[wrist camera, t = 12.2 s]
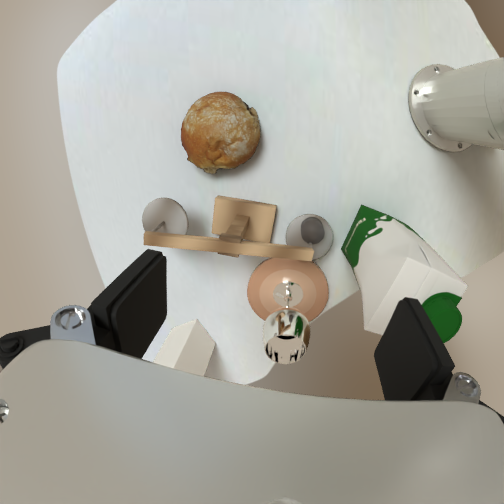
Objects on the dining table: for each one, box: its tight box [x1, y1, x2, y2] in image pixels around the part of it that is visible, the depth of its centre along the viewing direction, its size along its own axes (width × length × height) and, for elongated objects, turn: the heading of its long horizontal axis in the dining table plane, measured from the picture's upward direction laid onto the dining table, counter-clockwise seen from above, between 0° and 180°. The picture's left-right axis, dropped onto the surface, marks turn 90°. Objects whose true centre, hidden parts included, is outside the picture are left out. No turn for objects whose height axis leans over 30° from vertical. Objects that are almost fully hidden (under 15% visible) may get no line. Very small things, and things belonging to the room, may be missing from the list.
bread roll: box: [181, 92, 260, 174], centre depth 33 cm, size 10×10×8 cm
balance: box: [142, 196, 333, 261], centre depth 33 cm, size 24×6×12 cm, turn 81°
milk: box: [153, 319, 216, 376], centre depth 39 cm, size 6×6×22 cm
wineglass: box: [263, 281, 310, 364], centre depth 36 cm, size 6×6×12 cm
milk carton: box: [341, 205, 468, 343], centre depth 29 cm, size 9×9×20 cm
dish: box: [247, 257, 329, 322], centre depth 42 cm, size 12×12×1 cm
